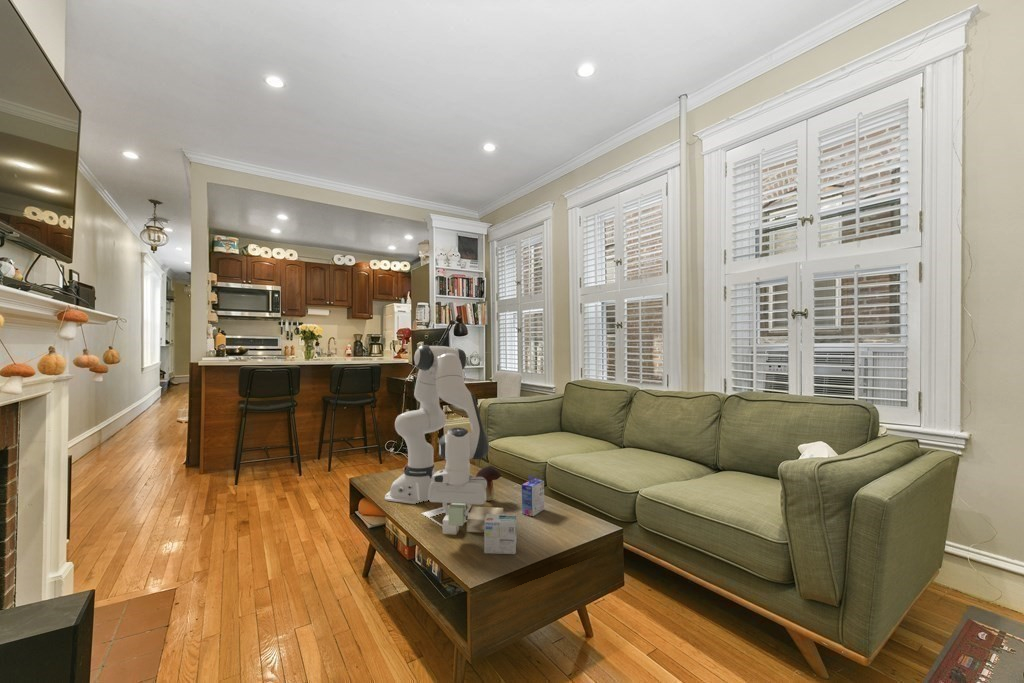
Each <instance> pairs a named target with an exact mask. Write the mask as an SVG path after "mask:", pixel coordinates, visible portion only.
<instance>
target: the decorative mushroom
mask: <svg viewBox="0 0 1024 683" xmlns="http://www.w3.org/2000/svg"><path fill="white" fill-rule="evenodd" d="M475 476H476V477H483V478H485V479H486V481H487V488H486V502H491V501H493V499H494V493H495V491H494V482H493V481H497V480H498V479H500V478H501V477H502V474H501V472H500V471H499V470H498V469H497V468H495V467H493V466H490V465H489V466H485V467H483V468H481V469H480V470H478V472H477V473H476V475H475ZM483 480H484V479H483Z"/></svg>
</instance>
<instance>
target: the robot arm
mask: <svg viewBox="0 0 1024 683" xmlns="http://www.w3.org/2000/svg"><path fill="white" fill-rule="evenodd" d="M414 352H415V353H414V356H413V360H414V365H415V367H416V368H417V369H418V371H417V376H416V382H415V385H414V386H415V387H414V393H413V396H414V398H415V399H416V401H418V403H419V405H420V406H419V409H416V410H415V409H414V410H408V411H405V412H403V413H400V414H398V415H397V417H396V418H395V421H394V429H395V431H396V433H397V434H398V435H399V436H400V437H402V438H403V439H404V442H405V444H406V446H407V456H408V457H407V463H406V464H405V465H404V467H403V468H402V469H403V470H402V471H403V474H401V475H400V476H399V477H397V478H396V479H395V480H394V481H393V482H392V483H391V486H390V491H388V492H387V493H386V494H385V495H384V500H385V501H387V502H393V503H394V502H396V503H402V504H403V503H404V504H411V505H417V504H419V502H420V503H423V501H424V502H428V500H429V502H430V503H442V507H444V509H445V510H446V513H445V516H446V515H448V513H449V508H448V505H449V504H451V503H461V504H466V509H465V510H464V516H466V517H468V516H469V514H470V512H469V511H470V510H471V509H472V507H473V505H484V504H485V503H486V502H487V500H486V488H487V481H486V479H485V478H483V477H476V475H475V476H474V475H471V463H470V460H483V459H484V457H485V456H486V455H487V454H488V453H489V451H490V450H489V448H490V447H489V446H490V445H489V440H488V437H487V435H486V432H485V428H484V425H483V420H482V418H481V415H480V410H479V406H478V403H477V401H476V396H475V395H474V393H473V392H472V391H470V390H469V389H468V387H467V386H466V384H465V380H464V371H463V370H465V368H466V364H467V354H466V353H465V351H464V350H463V349H461V348H459V347H456V348H454V347H451V346H446V345H445V346H444V345H428V344H426V345H425V344H424V345H423V344H422V345H419V346H418V347H417V348H416V349H415V351H414ZM440 400H443V401H444V402H445V403H447V404H450V405H453V406H456V407H458V408H460V409H462V410H464V412H466V414H467V417H468V422H469V425H470V429H471V432H469V430H468V429H466V428H464V427H453V428H450V429H448V430H447V432H446V434H443V435H442V436H440V438H439V439H438V456H439V457H440V458H441V459H442V460H444V461H445V466H444V469H439V470H437V471H435V464H434V446H433V445H432V444H431V443H429V442H428V441H427V440H426V437H425V436H426V434H429V433H434V432H437V431H439V430H441V429H442V428H444V427H445V426H446V422H447V416H446V413H445V412H444V410H443V409H442V408H441V404H440ZM483 479H484V480H483ZM416 503H417V504H416Z"/></svg>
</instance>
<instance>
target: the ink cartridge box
mask: <svg viewBox="0 0 1024 683" xmlns="http://www.w3.org/2000/svg"><path fill="white" fill-rule="evenodd" d="M527 479H528V481H526V482H524V483H523V484H521V507H522V508H521V509H522V512H521V513H522V515H524V514H526V515H525V516H528V515H530V516H529V517H531V516H533V517H534V516H536V515H537V514H539V513H540V512H541V513H542V511H544V510H545V480H543V479H539V478H535V477H534V475H533V474H531V475H529V476H527Z"/></svg>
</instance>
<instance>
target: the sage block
mask: <svg viewBox="0 0 1024 683" xmlns="http://www.w3.org/2000/svg"><path fill="white" fill-rule="evenodd" d="M449 505H450V506H449V513H448V525H454V526H459V527H463V526H464V524H465V523H464V522H465V521H466V520H467V516H464V510H465V509H467V504H461V503H450V504H449Z"/></svg>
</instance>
